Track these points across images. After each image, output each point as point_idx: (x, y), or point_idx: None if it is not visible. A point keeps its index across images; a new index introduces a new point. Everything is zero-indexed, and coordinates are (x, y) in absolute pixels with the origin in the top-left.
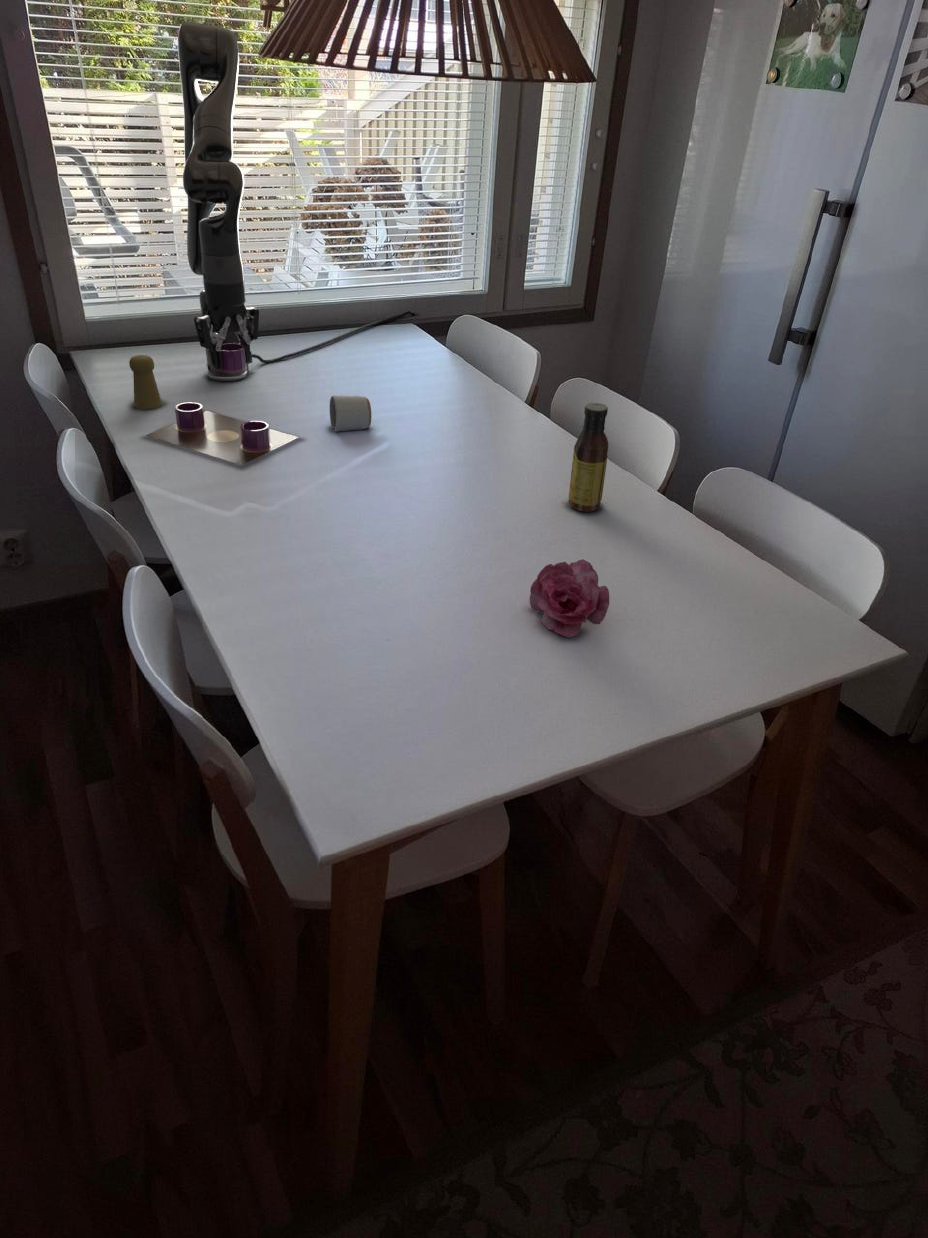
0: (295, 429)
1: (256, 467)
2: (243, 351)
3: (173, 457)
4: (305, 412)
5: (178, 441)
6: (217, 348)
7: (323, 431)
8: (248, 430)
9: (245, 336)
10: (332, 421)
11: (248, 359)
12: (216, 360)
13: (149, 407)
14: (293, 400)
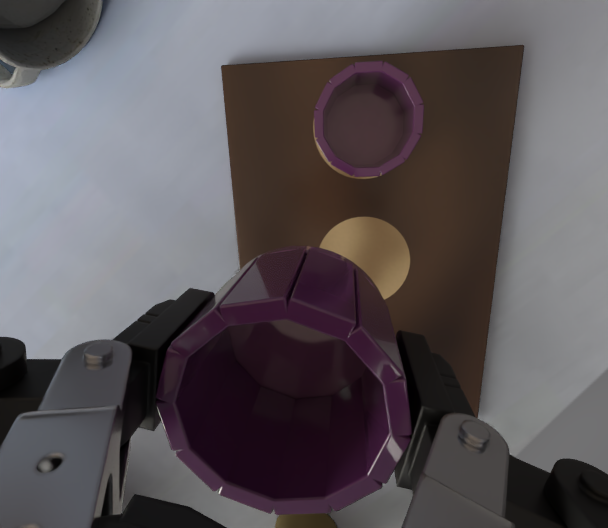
0: (172, 141)
1: (489, 10)
2: (244, 293)
3: (552, 277)
4: (64, 210)
5: (467, 331)
6: (490, 434)
7: (121, 55)
8: (420, 105)
9: (96, 397)
10: (61, 54)
11: (191, 294)
12: (452, 381)
13: (324, 517)
14: (34, 296)
